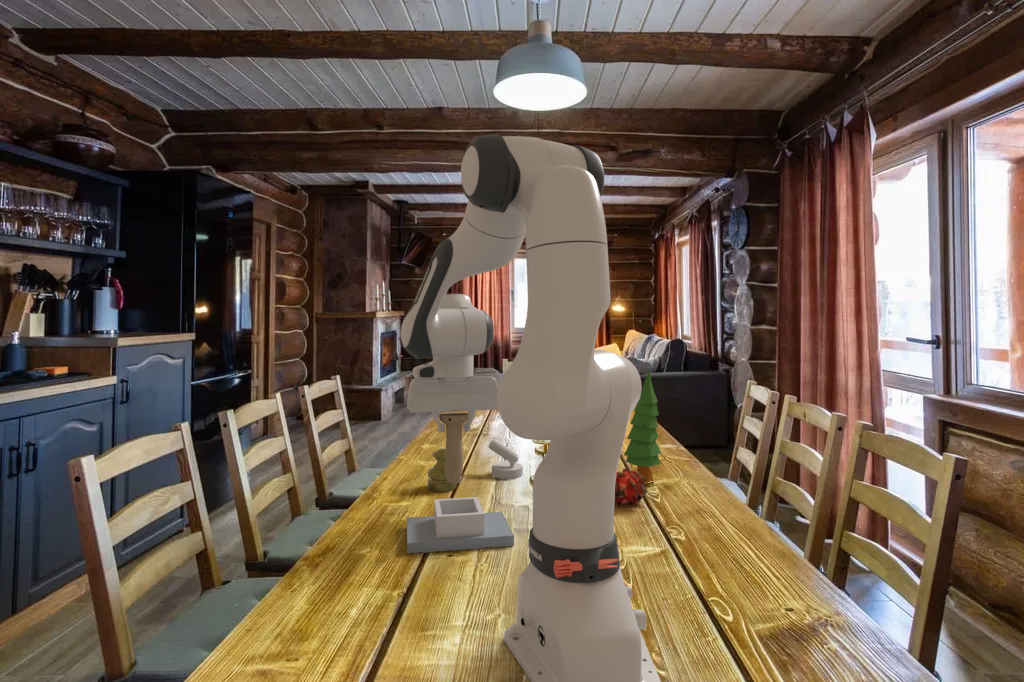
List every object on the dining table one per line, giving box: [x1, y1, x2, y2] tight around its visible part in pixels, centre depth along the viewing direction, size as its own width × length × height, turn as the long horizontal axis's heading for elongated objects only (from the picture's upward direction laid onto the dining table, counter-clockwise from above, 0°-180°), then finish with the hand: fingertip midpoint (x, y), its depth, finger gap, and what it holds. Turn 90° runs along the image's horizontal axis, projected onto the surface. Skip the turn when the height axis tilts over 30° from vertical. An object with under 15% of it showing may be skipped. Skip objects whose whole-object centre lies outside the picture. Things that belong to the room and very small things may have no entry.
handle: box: [438, 411, 469, 484], centre depth 120 cm, size 5×6×15 cm
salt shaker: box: [427, 448, 457, 493], centre depth 139 cm, size 7×7×10 cm
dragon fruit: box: [615, 468, 648, 506], centre depth 129 cm, size 8×8×12 cm
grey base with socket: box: [406, 496, 515, 554], centre depth 109 cm, size 13×20×6 cm, turn 101°
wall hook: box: [488, 438, 524, 480], centre depth 151 cm, size 9×10×10 cm
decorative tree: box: [623, 370, 662, 482], centre depth 146 cm, size 10×9×30 cm
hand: (454, 431), depth 120 cm, fingers closed on handle, 4 cm apart
